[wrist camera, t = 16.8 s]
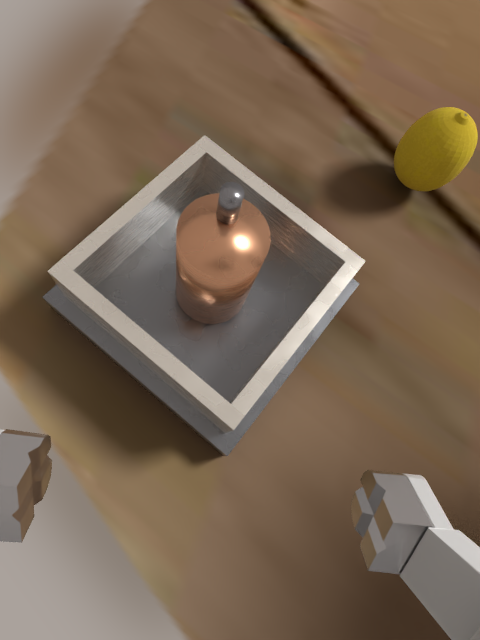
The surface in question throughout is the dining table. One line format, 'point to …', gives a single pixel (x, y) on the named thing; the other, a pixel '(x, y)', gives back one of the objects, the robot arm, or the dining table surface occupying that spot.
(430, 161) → the lemon
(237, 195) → the copper upright cylinder
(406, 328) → the dining table surface
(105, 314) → the open square box
